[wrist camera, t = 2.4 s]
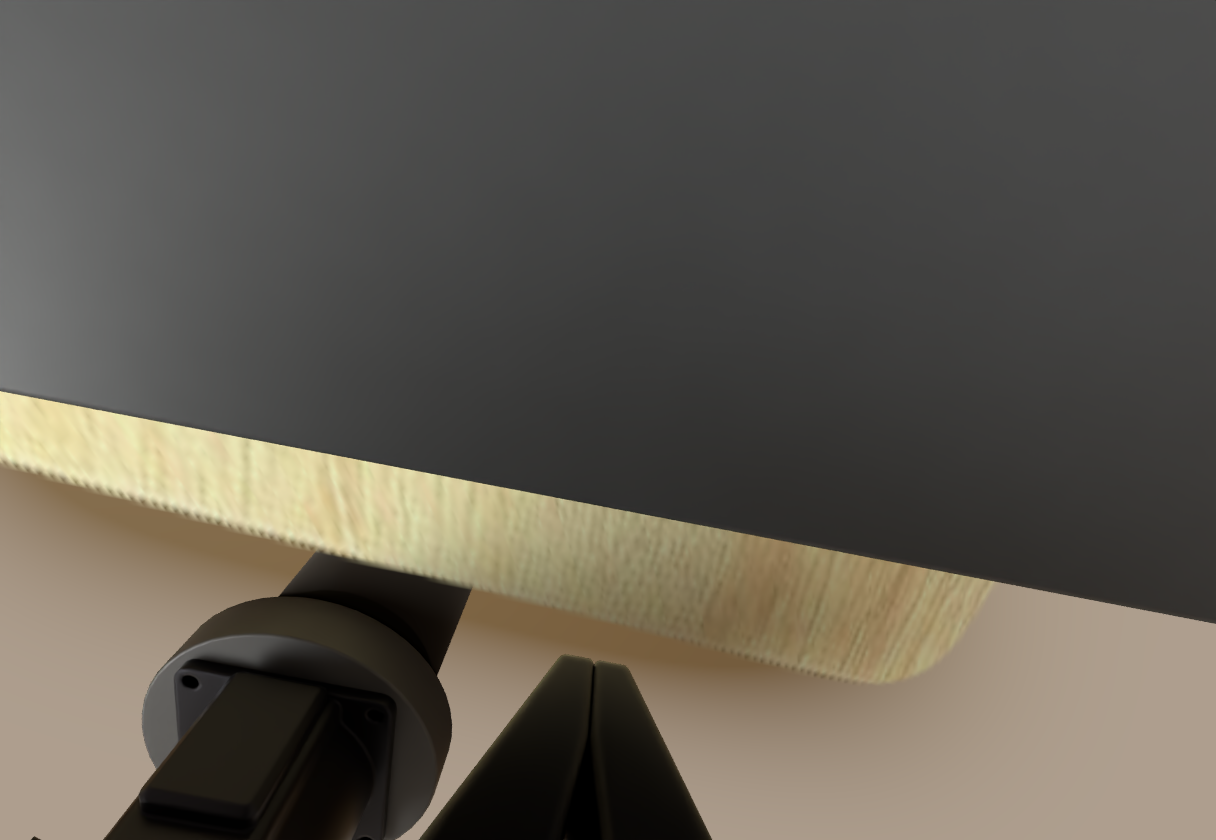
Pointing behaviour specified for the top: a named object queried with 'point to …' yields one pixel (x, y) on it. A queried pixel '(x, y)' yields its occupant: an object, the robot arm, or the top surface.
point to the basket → (654, 258)
